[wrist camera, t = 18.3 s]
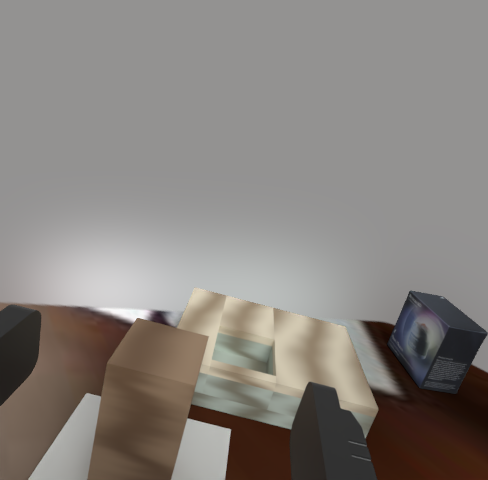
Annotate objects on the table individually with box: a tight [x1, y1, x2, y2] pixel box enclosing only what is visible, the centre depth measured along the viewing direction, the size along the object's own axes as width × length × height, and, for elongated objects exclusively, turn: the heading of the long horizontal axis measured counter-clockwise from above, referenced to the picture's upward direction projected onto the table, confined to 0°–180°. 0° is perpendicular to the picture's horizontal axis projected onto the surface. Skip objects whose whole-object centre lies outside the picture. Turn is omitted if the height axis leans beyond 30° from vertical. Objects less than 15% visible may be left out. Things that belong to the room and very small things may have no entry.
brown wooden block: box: [87, 318, 209, 480], centre depth 26 cm, size 5×5×12 cm
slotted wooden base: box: [177, 288, 378, 438], centre depth 45 cm, size 22×16×5 cm
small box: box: [387, 291, 488, 394], centre depth 55 cm, size 11×6×10 cm, turn 5°
